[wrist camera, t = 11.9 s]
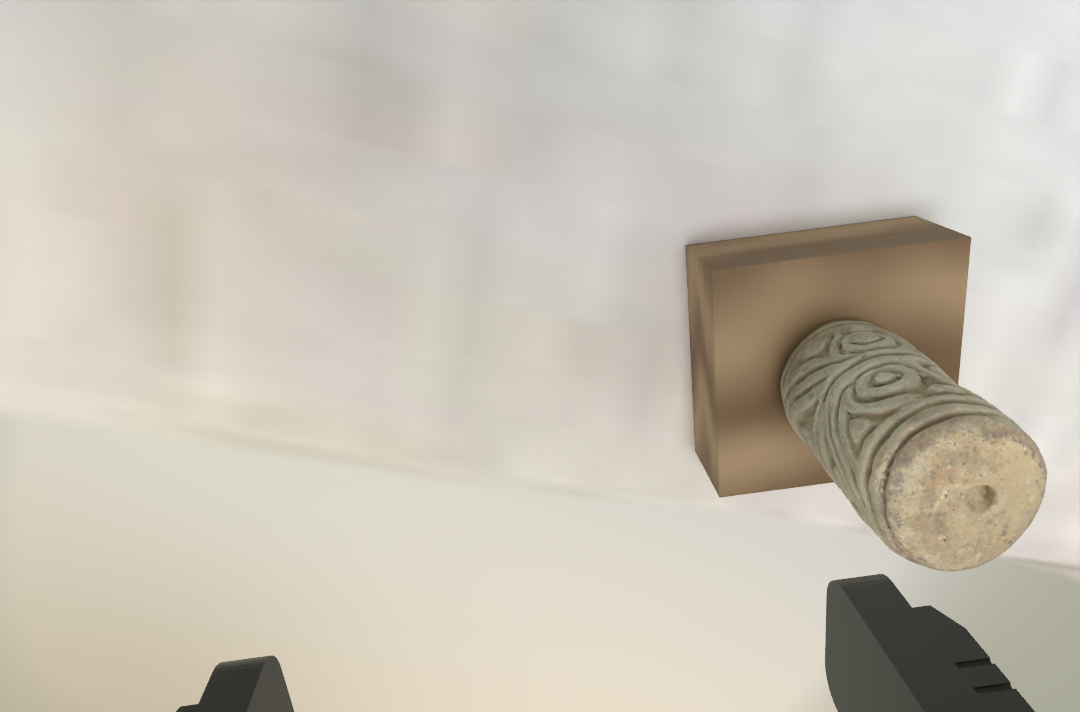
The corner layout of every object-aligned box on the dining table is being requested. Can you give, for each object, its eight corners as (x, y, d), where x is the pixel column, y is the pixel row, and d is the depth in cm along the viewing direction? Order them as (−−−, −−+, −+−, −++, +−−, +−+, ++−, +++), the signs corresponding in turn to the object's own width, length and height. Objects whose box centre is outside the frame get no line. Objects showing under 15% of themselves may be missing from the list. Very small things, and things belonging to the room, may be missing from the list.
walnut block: (685, 245, 40) (711, 270, 36) (915, 216, 41) (970, 237, 36) (695, 451, 45) (719, 497, 40) (902, 423, 45) (950, 466, 40)
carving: (850, 275, 36) (1013, 374, 25) (924, 391, 39) (1102, 530, 27) (735, 356, 37) (842, 486, 26) (814, 464, 40) (942, 625, 29)
